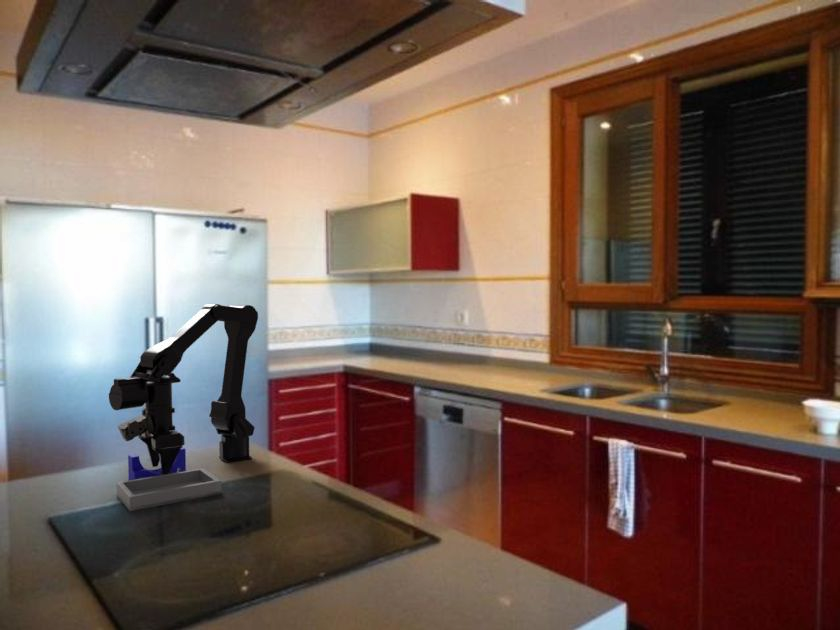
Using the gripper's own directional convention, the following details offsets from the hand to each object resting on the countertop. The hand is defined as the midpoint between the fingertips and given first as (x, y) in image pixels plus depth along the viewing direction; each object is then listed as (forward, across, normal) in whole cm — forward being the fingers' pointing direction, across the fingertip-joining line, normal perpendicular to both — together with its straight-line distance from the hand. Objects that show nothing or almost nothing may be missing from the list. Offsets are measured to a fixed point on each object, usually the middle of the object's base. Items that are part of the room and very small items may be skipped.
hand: (160, 470), depth 149 cm
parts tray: (+2, +15, -2) cm, 15 cm away
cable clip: (+2, -1, 0) cm, 2 cm away
